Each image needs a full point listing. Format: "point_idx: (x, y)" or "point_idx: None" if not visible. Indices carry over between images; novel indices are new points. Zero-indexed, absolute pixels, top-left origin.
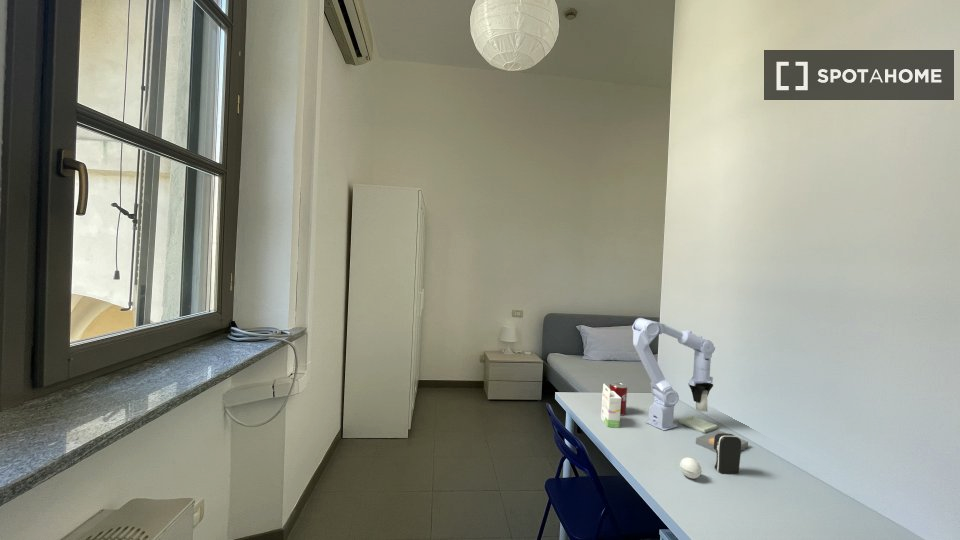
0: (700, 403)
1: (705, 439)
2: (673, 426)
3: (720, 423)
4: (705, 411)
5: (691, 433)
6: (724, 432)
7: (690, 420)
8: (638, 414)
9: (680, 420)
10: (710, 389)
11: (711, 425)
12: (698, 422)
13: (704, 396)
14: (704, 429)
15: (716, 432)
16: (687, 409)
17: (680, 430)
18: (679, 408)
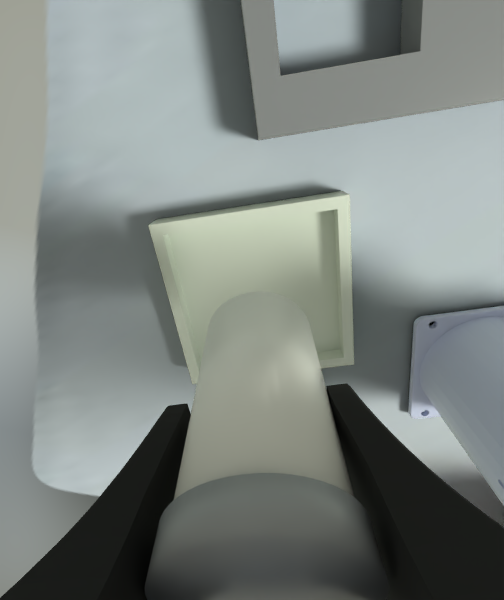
0: (320, 372)
1: None
2: (468, 315)
3: (38, 276)
4: (274, 293)
5: (432, 220)
6: (252, 79)
7: None
8: (459, 470)
9: (353, 353)
10: (24, 580)
11: (172, 254)
12: None
13: (301, 433)
14: (344, 198)
15: (332, 103)
16: (91, 458)
17: (455, 274)
18: None
